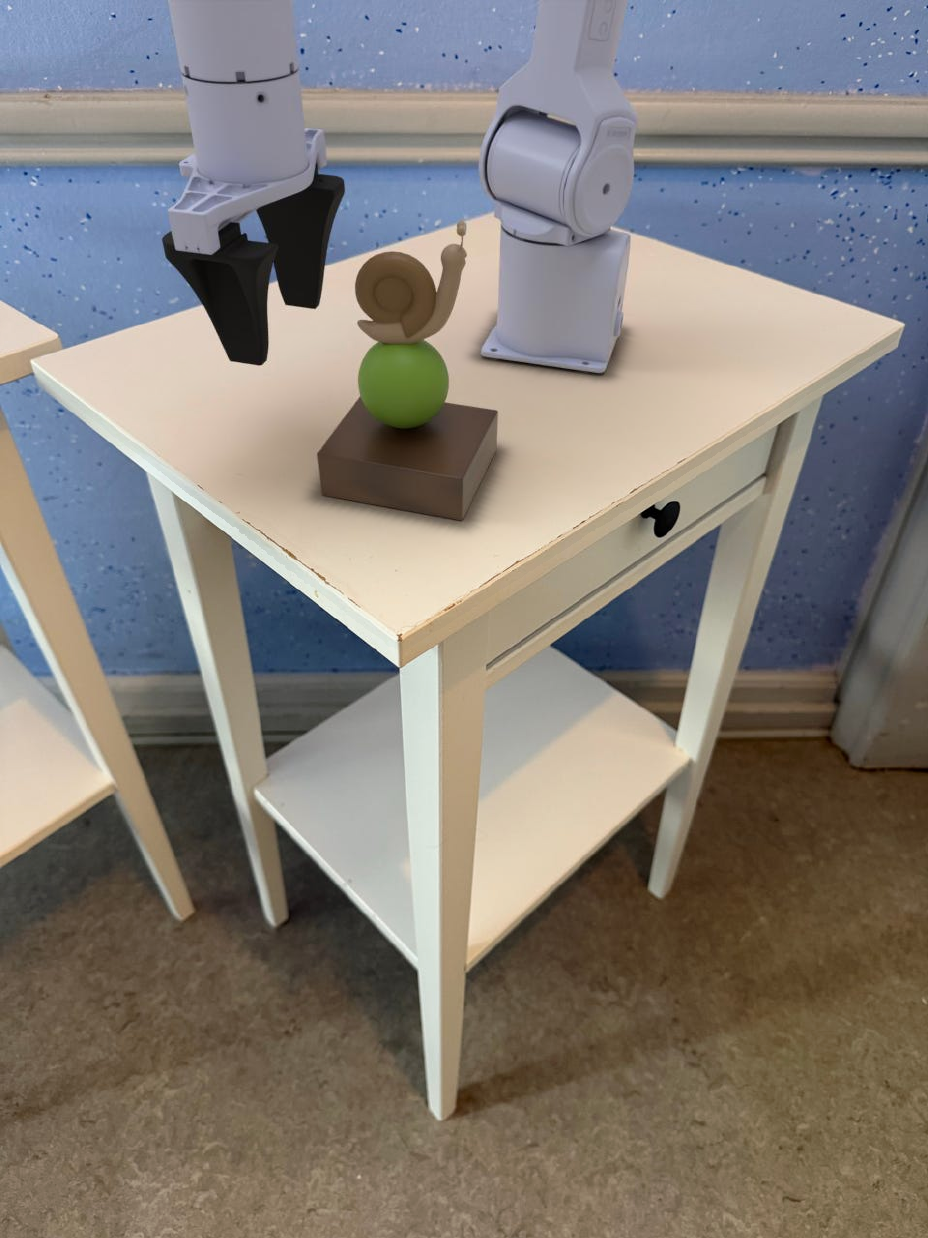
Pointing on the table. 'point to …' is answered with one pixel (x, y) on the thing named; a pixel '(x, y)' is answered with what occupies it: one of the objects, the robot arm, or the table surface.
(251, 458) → the table surface
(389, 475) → the walnut block
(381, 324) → the snail figurine
